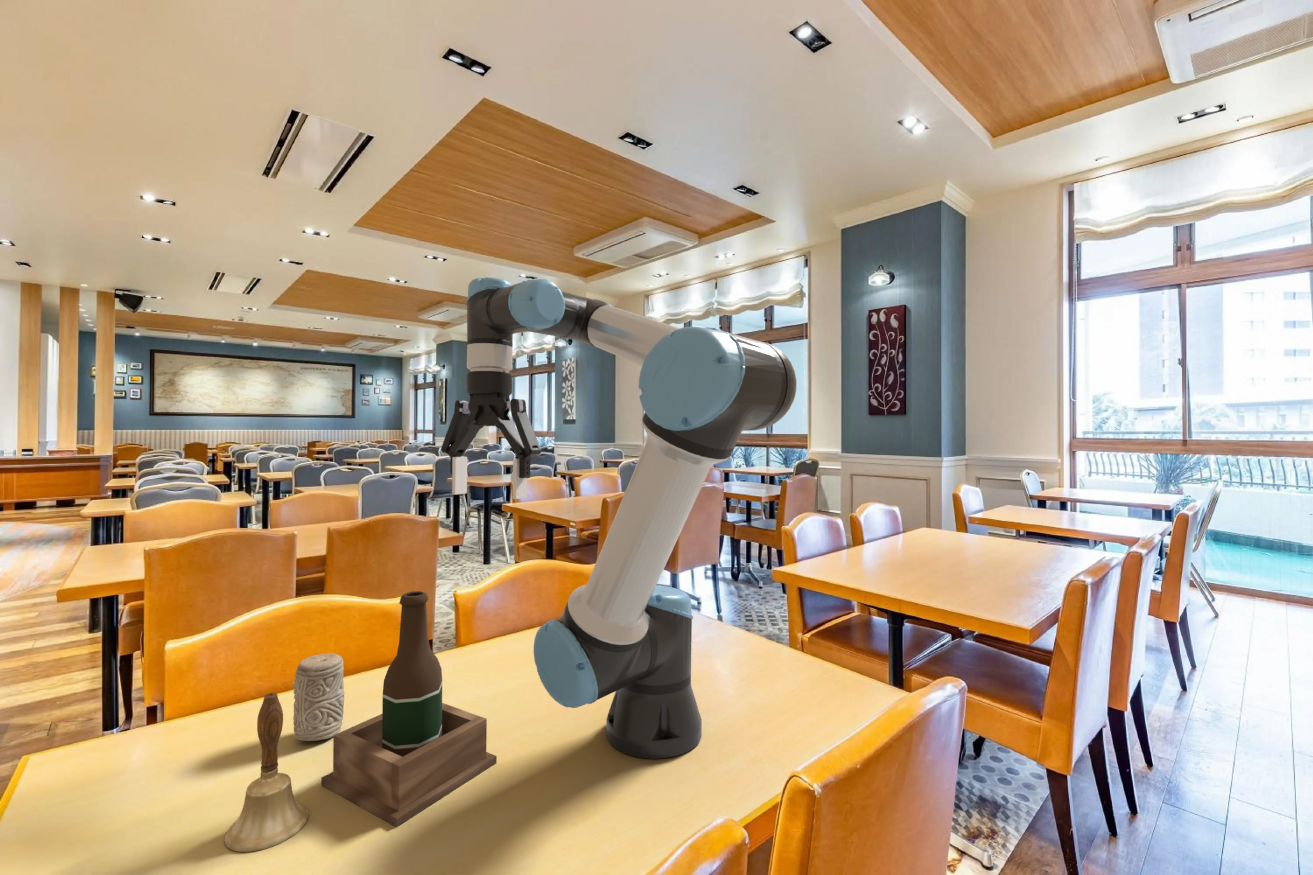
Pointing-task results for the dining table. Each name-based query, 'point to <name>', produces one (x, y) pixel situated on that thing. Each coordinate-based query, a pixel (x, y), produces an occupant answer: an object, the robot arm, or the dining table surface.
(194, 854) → the dining table surface
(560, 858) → the dining table surface
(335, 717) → the carving
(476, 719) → the box
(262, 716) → the hand bell
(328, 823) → the dining table surface
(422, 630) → the beer bottle
